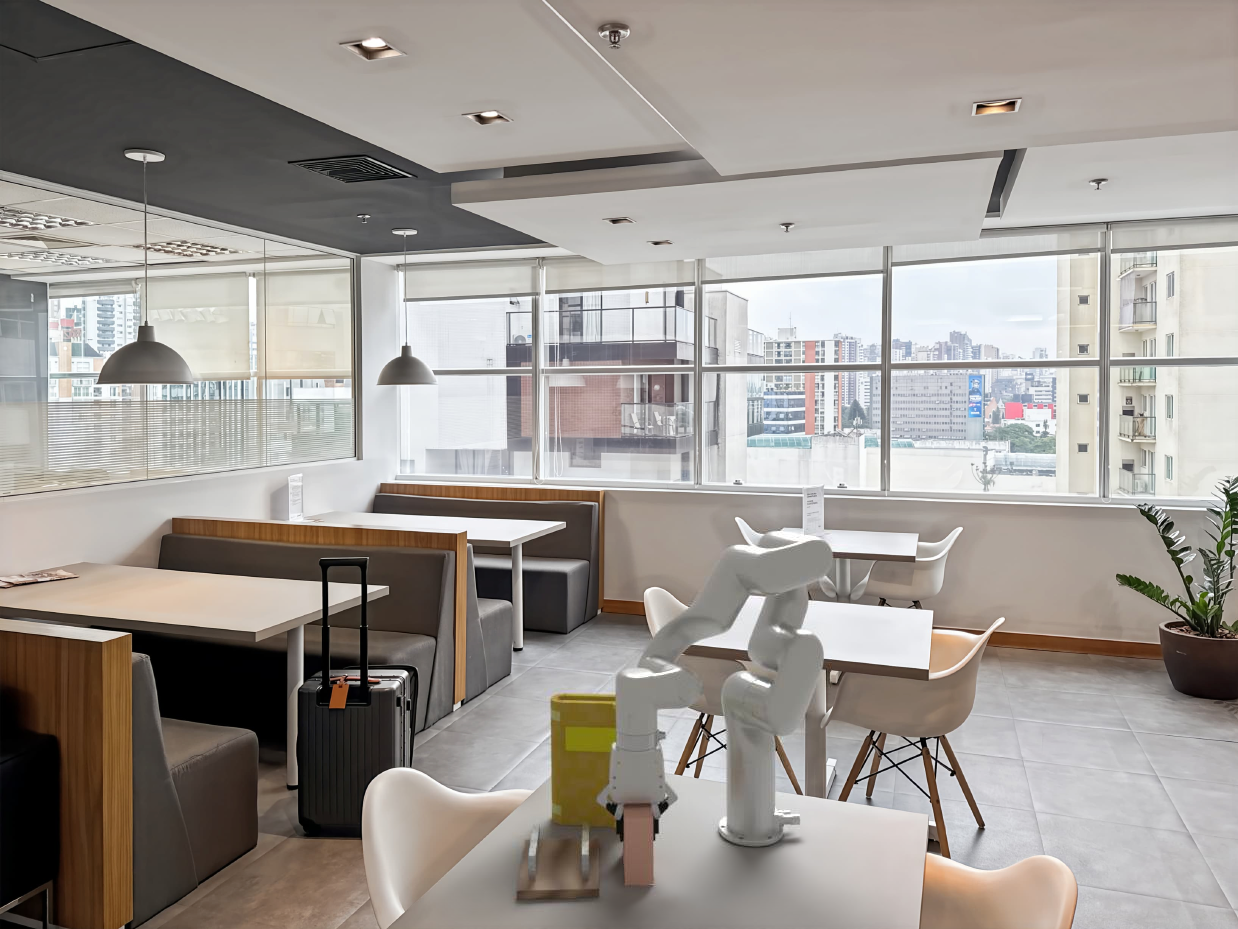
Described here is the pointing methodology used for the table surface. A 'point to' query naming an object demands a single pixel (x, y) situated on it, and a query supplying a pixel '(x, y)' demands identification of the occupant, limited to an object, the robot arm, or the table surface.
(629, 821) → the small book
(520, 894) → the shelf board
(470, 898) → the table surface
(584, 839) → the bookends
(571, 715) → the book
